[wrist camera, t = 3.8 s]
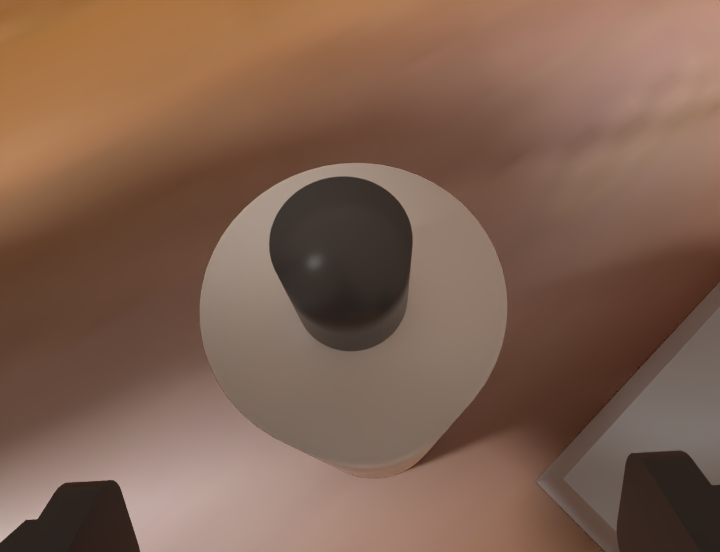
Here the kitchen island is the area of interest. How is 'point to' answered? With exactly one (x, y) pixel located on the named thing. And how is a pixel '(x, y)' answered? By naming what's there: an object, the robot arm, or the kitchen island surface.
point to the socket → (646, 425)
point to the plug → (354, 314)
